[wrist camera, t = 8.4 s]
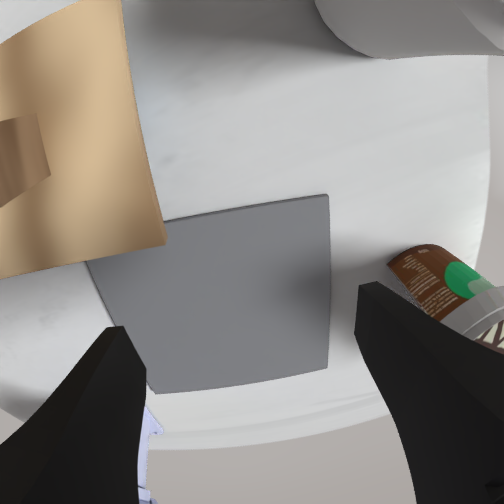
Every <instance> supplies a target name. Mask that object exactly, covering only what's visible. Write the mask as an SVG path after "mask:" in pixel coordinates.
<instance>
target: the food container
mask: <svg viewBox="0 0 504 504" xmlns="http://www.w3.org/2000/svg"><path fill="white" fill-rule="evenodd" d="M387 266H388V267H389V268H390V270H391V271H392V272H393V274H394V275H395V276H396V277H397V279H398V280H399V281H400V283H401V284H402V285H403V287H404V288H405V289H406V291H407V292H408V293H409V295H410V296H411V297H412V299H413V300H414V301H415V303H416V304H417V306H418V307H419V308H420V310H422V311H423V312H425V313H426V314H428V315H430V316H431V317H433V318H434V319H436V320H438V321H439V322H441V323H442V324H444V325H446V326H448V327H449V328H451V329H453V330H455V331H456V332H458V333H460V334H461V335H463V336H465V337H467V338H469V339H471V340H473V341H475V342H477V343H479V344H481V345H483V346H485V347H487V348H489V349H492V350H494V351H496V352H499V353H501V354H503V355H504V286H500V287H495V286H494V285H492V284H491V283H490V282H489V281H487V280H486V279H485V278H483V277H482V276H481V275H480V274H478V273H477V272H476V271H474V270H473V269H472V268H470V267H469V266H468V265H466V264H465V263H464V262H462V261H461V260H459V259H458V258H457V257H455V256H454V255H452V254H451V253H450V252H448V251H447V250H445V249H444V248H442V247H440V246H438V245H434V244H425V245H419V246H416V247H413V248H410V249H408V250H406V251H404V252H403V253H401V254H400V255H398V256H397V257H395V258H394V259H393V260H391V261H390V262H389V263H388V264H387Z"/></svg>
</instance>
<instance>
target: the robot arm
mask: <svg viewBox="0 0 504 504" xmlns="http://www.w3.org/2000/svg"><path fill="white" fill-rule="evenodd" d="M354 335H355V337H356V340H357V343H358V346H359V349H360V351H361V354H362V356H363V359H364V361H365V363H366V365H367V367H368V369H369V371H370V373H371V375H372V377H373V379H374V381H375V383H376V385H377V387H378V389H379V391H380V393H381V395H382V397H383V399H384V401H385V403H386V405H387V407H388V409H389V411H390V413H391V415H392V417H393V419H394V422H395V424H396V427H397V429H398V433H399V436H400V438H401V442H402V445H403V448H404V451H405V455H406V458H407V462H408V465H409V469H410V473H411V477H412V482H413V486H414V491H415V495H416V502H417V504H504V355H503V354H501V353H499V352H496V351H494V350H492V349H489V348H487V347H485V346H483V345H481V344H479V343H477V342H475V341H473V340H471V339H469V338H467V337H465V336H463V335H461V334H460V333H458V332H456V331H455V330H453V329H451V328H449V327H448V326H446V325H444V324H442V323H441V322H439V321H438V320H436V319H434V318H433V317H431V316H430V315H428V314H426V313H425V312H423V311H422V310H420V309H419V308H417V307H416V306H414V305H413V304H411V303H410V302H408V301H407V300H405V299H404V298H402V297H401V296H399V295H398V294H396V293H395V292H393V291H392V290H390V289H388V288H387V287H385V286H384V285H382V284H380V283H379V282H377V281H376V282H371V283H367V284H363V285H359V289H358V301H357V312H356V322H355V331H354ZM146 373H147V368H146V367H145V365H144V363H143V361H142V360H141V358H140V356H139V354H138V352H137V351H136V349H135V347H134V345H133V343H132V341H131V339H130V337H129V335H128V334H127V332H126V330H125V328H124V326H115V327H107V328H106V329H105V330H104V331H103V332H102V333H101V334H100V335H99V337H98V338H97V339H96V340H95V341H94V343H93V344H92V345H91V346H90V348H89V349H88V350H87V351H86V353H85V354H84V355H83V356H82V358H81V359H80V360H79V361H78V363H77V364H76V365H75V366H74V368H73V369H72V370H71V372H70V373H69V374H68V375H67V377H66V378H65V379H64V380H63V381H62V382H61V384H60V385H59V386H58V387H57V388H56V390H55V391H54V392H53V393H52V394H51V396H50V397H49V398H48V399H47V400H46V402H45V403H44V404H43V405H42V406H41V407H40V408H39V409H38V410H37V411H36V412H35V413H34V414H33V415H32V416H31V417H30V418H29V419H28V420H27V422H25V423H24V424H23V425H22V426H21V427H20V428H19V429H18V430H17V431H16V432H14V433H13V434H12V435H11V436H10V437H9V438H8V439H7V440H5V441H4V442H3V443H2V444H1V445H0V504H158V503H157V501H156V500H155V499H153V498H150V491H149V490H146V489H145V487H146V472H147V458H148V446H149V435H158V434H163V433H164V430H163V429H162V428H161V426H160V425H159V424H158V423H157V421H156V420H155V419H154V417H153V416H152V415H151V413H150V412H149V411H148V409H147V408H146V407H145V400H146Z"/></svg>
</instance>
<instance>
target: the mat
mask: <svg viewBox="0 0 504 504" xmlns="http://www.w3.org/2000/svg"><path fill="white" fill-rule="evenodd" d="M164 225H165V229H166V232H167V236H168V239H167V242H166V245H163V246H158V247H153V248H147V249H142V250H137V251H132V252H127V253H122V254H117V255H112V256H107V257H102V258H97V259H92V260H87V261H86V263H87V265H88V267H89V270H90V272H91V274H92V277H93V279H94V281H95V283H96V286H97V288H98V290H99V292H100V294H101V297H102V299H103V301H104V303H105V305H106V307H107V309H108V311H109V313H110V315H111V317H112V319H113V321H114V323H115V325H116V326H124V328H125V330H126V332H127V334H128V335H129V337H130V339H131V341H132V343H133V345H134V347H135V349H136V351H137V352H138V354H139V356H140V358H141V360H142V361H143V363H144V365H145V367H146V368H147V373H146V380H147V382H148V383H149V385H150V387H151V388H152V390H153V391H154V393H155V394H167V393H179V392H190V391H199V390H208V389H216V388H224V387H231V386H238V385H245V384H251V383H257V382H263V381H269V380H274V379H279V378H285V377H290V376H294V375H299V374H304V373H308V372H313V371H317V370H322V369H326V368H327V366H328V348H329V325H330V212H329V196H328V195H327V194H323V195H316V196H309V197H302V198H295V199H289V200H282V201H276V202H270V203H263V204H257V205H251V206H245V207H240V208H234V209H228V210H222V211H217V212H211V213H206V214H200V215H195V216H190V217H185V218H179V219H174V220H169V221H164Z"/></svg>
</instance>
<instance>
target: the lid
mask: <svg viewBox="0 0 504 504" xmlns="http://www.w3.org/2000/svg"><path fill="white" fill-rule="evenodd" d="M167 239H168V236H167V232H166V229H165V225H164V222H163V218H162V214H161V210H160V207H159V203H158V199H157V195H156V191H155V187H154V183H153V179H152V175H151V171H150V166H149V162H148V158H147V153H146V149H145V144H144V140H143V135H142V130H141V126H140V121H139V116H138V110H137V105H136V100H135V95H134V89H133V83H132V77H131V71H130V65H129V59H128V52H127V45H126V38H125V30H124V22H123V13H122V4H121V0H80V1H78V2H76V3H74V4H71V5H69V6H67V7H65V8H63V9H61V10H59V11H57V12H55V13H53V14H51V15H49V16H47V17H45V18H43V19H41V20H39V21H37V22H36V23H34V24H32V25H30V26H29V27H27V28H25V29H24V30H22V31H20V32H19V33H17V34H15V35H14V36H12V37H11V38H9V39H7V40H6V41H4V42H3V43H1V44H0V279H3V278H8V277H12V276H16V275H21V274H26V273H30V272H35V271H39V270H44V269H49V268H53V267H58V266H63V265H68V264H72V263H77V262H82V261H87V260H92V259H97V258H102V257H107V256H112V255H117V254H122V253H127V252H132V251H137V250H142V249H147V248H153V247H158V246H163V245H166V242H167Z"/></svg>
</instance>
